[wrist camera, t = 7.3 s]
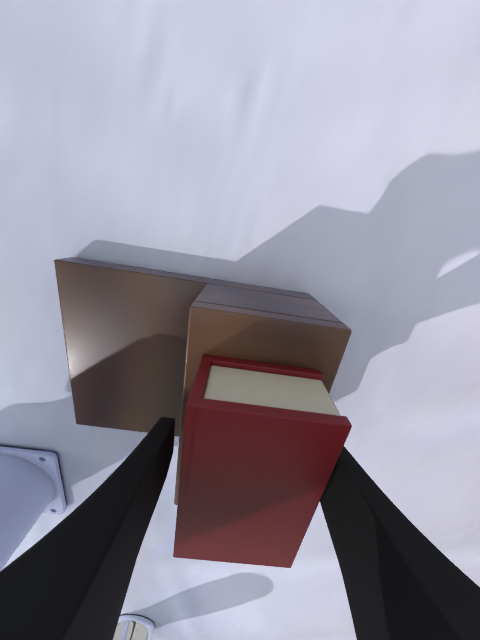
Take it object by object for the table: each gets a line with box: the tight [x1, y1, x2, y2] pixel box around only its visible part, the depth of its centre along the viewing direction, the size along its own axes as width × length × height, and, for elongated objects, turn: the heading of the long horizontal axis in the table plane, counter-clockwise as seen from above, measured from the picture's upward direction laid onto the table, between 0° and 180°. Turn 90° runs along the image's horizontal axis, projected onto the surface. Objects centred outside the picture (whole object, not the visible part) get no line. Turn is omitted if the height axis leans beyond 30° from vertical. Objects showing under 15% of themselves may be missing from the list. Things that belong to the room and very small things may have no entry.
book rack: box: [54, 257, 351, 505], centre depth 13 cm, size 15×12×6 cm
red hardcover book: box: [173, 354, 352, 568], centre depth 9 cm, size 5×8×3 cm, turn 171°
